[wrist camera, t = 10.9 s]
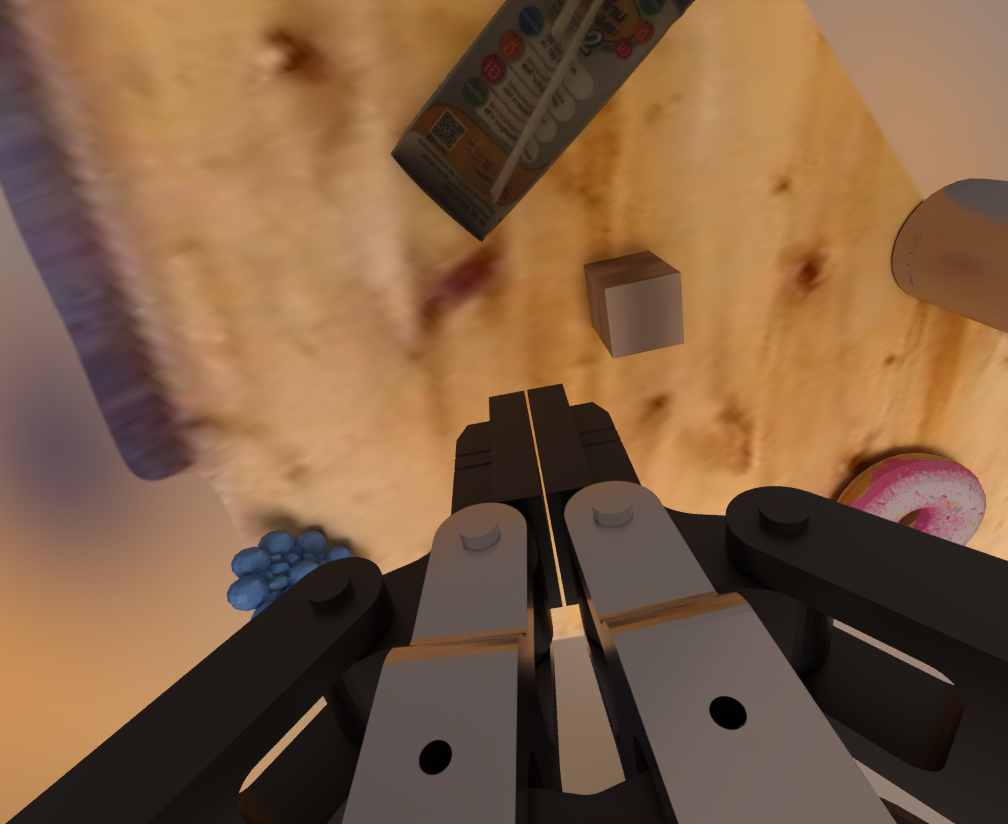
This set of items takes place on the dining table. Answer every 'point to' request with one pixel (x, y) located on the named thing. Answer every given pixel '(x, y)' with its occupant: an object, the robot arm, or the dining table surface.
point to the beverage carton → (524, 99)
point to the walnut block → (635, 303)
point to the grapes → (277, 567)
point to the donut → (921, 495)
